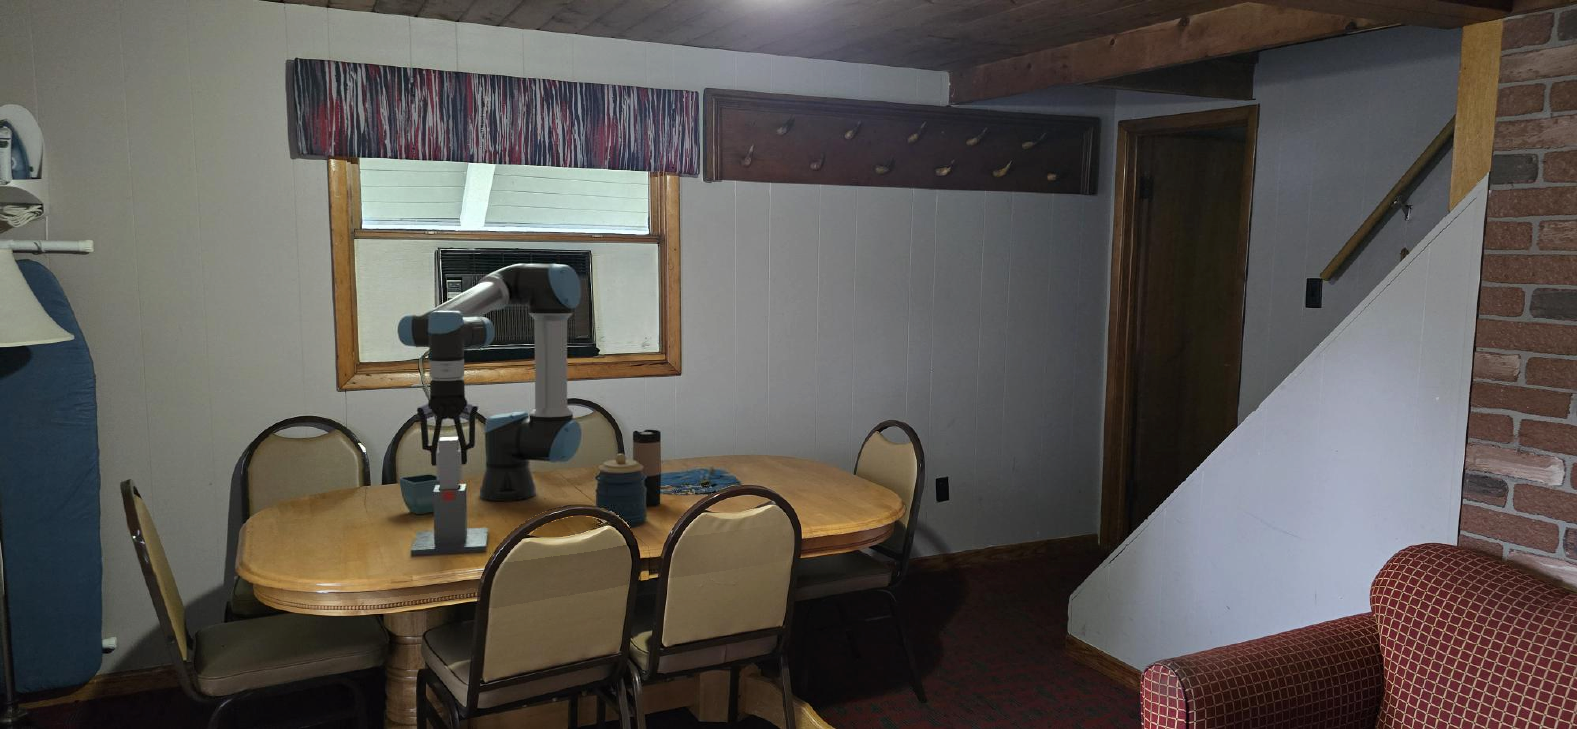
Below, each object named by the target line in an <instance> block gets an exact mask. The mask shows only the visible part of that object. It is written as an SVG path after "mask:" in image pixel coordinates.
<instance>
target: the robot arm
mask: <svg viewBox="0 0 1577 729" xmlns="http://www.w3.org/2000/svg"><path fill="white" fill-rule="evenodd" d="M581 299H582V287H581V281H580V279H579V276H578V274H577V272H576V271H575V270H574V268H572V267H571V266H569V265H566V264H560V263H559V264H557V263H517V264H516V263H515V264H512V265H508V266H506V267H502V268H500V269H498V270H496V271H495V270H494V271H493V272H491V273H489V274H487V275H486V276H484V277H482V278H480V279H479V281H478V283H477V285H474V286H473V287H471V288H469V289H467V290H466V291H464V292H462V293H460V294H458V295H456V296H454V297H452V298H451V299H449V300H447V301H445V302H443V303H442V304H440V305H438V306H436V307H434V308H432V309H431V310H428V311H427V312H425V313H423V314H420V315H419V314H418V315H416V314H413V315H405V316H403V317H402V318H401V319H400V320H399V322H398V324H397V325H398V326H397V334H398V340H399V341H400V342H401V344H403V345H404V346H406V347H415V348H428V349H429V350H428V352H429V360H428V361H429V363H428V364H429V365H428V367H429V377H430V381H429V393H430V394H429V395H430V398H429V401H428V402H427V404H425V405H419V406H418V407H417V409H416V411H417V414H418V416H419V420H420V431H421V434H420V435H421V446H422V447H421V448H422V450H425V451H427V452H430V465H431V466H432V467H435V468H436V476H437V481H440V466H439V449H438V447H439V439H440V434H441V429H442V425H443V420H447V419H450V420H453V423H454V427H455V430H456V435H457V436H456V437H458V443H459V446H460V447H459V448H460V449H459V450H458V480H459V481H462V480H463V465H467V463H468V451H469V450H471V449H473V448H474V447H475V445H476V414H477V412H478V409H479V405H478V404H472V403H469V402H468V401H467V399H466V392H465V384H466V383H465V380H464V378H463V377H465V358H464V356H465V355H464V354H465V353H464V352H465V350H466V351H467V350H474V349H477V350H479V349H481V348H485V347H487V346H489V345H490V344H491V343H492V342H493V341H494V339H495V334H496V330H495V327H494V324H493V322H492V321H491V320H490V319H489V318H487V317H484V315H486V314H488V313H490V312H491V311H499V310H502V309H504V308H506V307H528V315H529V316H531V317H532V318H533V320H534V405H535V406H534V408H533V409H532V410H531V411H530V412H529V414H528V412H527V411H515V412H513V411H512V412H505V413H504V412H503V413H499V414H495V415H491V416H488V418H486V420H485V423H484V432H483V433H484V447H485V448H484V449H485V450H484V451H485V454H484V455H485V470H484V474H483V478H482V484H481V485H480V487H479V497H480V498H481V499H483V500H486V501H493V502H496V501H497V502H509V501H510V502H512V500H513V501H519V500H520V501H521V500H525V499H530V498H532V497H534V496H535V495H536V493H537V492H536V491H537V489H536V484H535V482H534V480H533V479H534V478H533V475H532V472H531V470H530V469H531V468H530V463H529V462H530V461H537V462H551V463H567V462H569V461H571V460H572V459H573V458H574V456H575V455H576V454H577V451H578V450H579V448H580V444H581V441H582V427H581V423H580V422H579V421H577V420H576V419H574V412H573V411H572V410H571V409H570V408H569V407H568V319H569V318H571V316H572V315H573V309H575V308H577V307H578V306H579V304H580V303H581V302H580V300H581ZM429 409H430V411H431V412H432V413H433V414H434V415H435V417H436V419H435V425H434V426H435V427H434V430H433V435H432V440H431V441H432V442H431V444H430V443H429V430H428V426H429V425H428V413H429ZM465 409H467V413H468V414H469V418H468V419H469V422H468V423H469V424H468V442H466V438H465V433H464V429H463V425H462V420H461V415H462V412H464V410H465Z"/></svg>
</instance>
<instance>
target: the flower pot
mask: <svg viewBox="0 0 1577 729" xmlns="http://www.w3.org/2000/svg"><path fill="white" fill-rule="evenodd" d="M398 479H399V485H400V492H401V496H402V500H403V503H404V504H405V506H406V507H407V509H408V510H409V512H412V513H414V514H416V515H421V514H422V515H423V514H428V513H434V504H433V491H434V488H435V486H436V485H440V481H437V474H436V475H435V474H433V473H426V474H418V475H412V476H406V477H405V476H404V477H400V478H398Z"/></svg>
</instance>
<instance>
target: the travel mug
mask: <svg viewBox="0 0 1577 729" xmlns="http://www.w3.org/2000/svg"><path fill="white" fill-rule="evenodd" d="M661 435H662V434H661V430H659V429H645V430H644V431H638V430H633V431H632V460H634V461H637V462H638V463H639V464H641V465H642V466H643V469H642V472H643V473H645V474H646V475H647V478H646V479H645V487H646V488H647V490H646V508H653V507H658V506H660V505H661V493H660V492H661V490H662V489H661V473H662V448H661V447H662V443H661V442H662V441H661V437H662V436H661ZM659 504H660V505H659Z"/></svg>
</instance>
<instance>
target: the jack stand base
mask: <svg viewBox="0 0 1577 729" xmlns="http://www.w3.org/2000/svg"><path fill="white" fill-rule="evenodd" d="M459 484H460V490H441V491H440V485H436V486H435V488H434V491H433V504H434V512H433V530H418V531H417V533H416V536H415V539H414V542H413V544H412V546H411V549H410V554H411V555H410V557H413V558H414V557H428V556H429V557H430V556H446V555H463V554H480V553H487V547H488V546H487V545H488V538H489V527H469V528H468V511H467V510H468V507H467V506H468V505H467V483H459Z"/></svg>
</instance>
